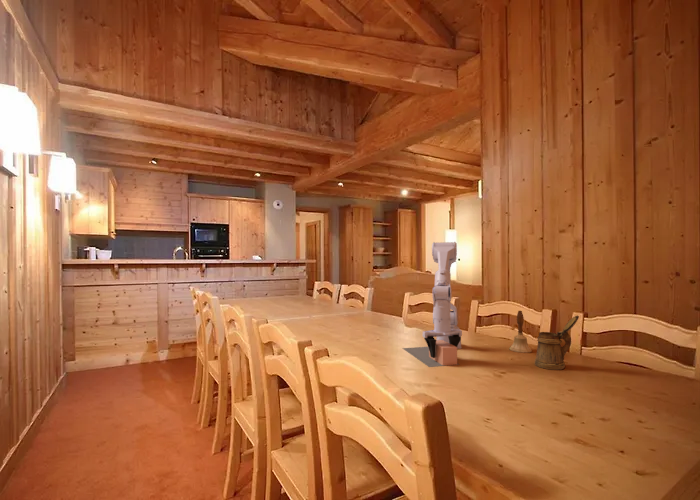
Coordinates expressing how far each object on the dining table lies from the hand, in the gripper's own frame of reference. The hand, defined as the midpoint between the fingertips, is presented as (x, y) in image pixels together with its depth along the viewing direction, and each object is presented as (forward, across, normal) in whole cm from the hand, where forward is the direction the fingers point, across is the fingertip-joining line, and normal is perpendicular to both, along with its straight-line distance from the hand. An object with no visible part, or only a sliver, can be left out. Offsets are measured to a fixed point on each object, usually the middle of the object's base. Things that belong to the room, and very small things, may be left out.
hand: (442, 356), depth 127 cm
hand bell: (+2, +38, +8) cm, 39 cm away
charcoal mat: (+2, -2, +7) cm, 7 cm away
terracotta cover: (+1, 0, 0) cm, 1 cm away
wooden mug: (+2, +36, -14) cm, 38 cm away
